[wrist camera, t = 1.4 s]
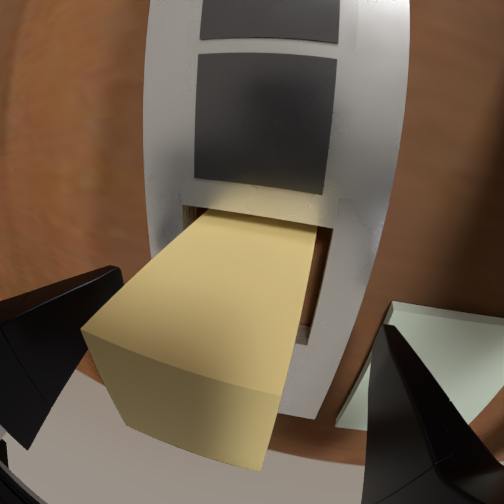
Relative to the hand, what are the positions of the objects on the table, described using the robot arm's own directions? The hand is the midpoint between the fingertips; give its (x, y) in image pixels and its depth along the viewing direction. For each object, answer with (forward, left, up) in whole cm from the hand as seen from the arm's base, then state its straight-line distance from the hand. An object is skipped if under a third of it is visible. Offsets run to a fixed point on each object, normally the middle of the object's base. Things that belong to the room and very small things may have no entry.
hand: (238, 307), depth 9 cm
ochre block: (0, 0, -3) cm, 3 cm away
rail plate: (0, -2, -3) cm, 3 cm away
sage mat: (-10, +5, -3) cm, 11 cm away
